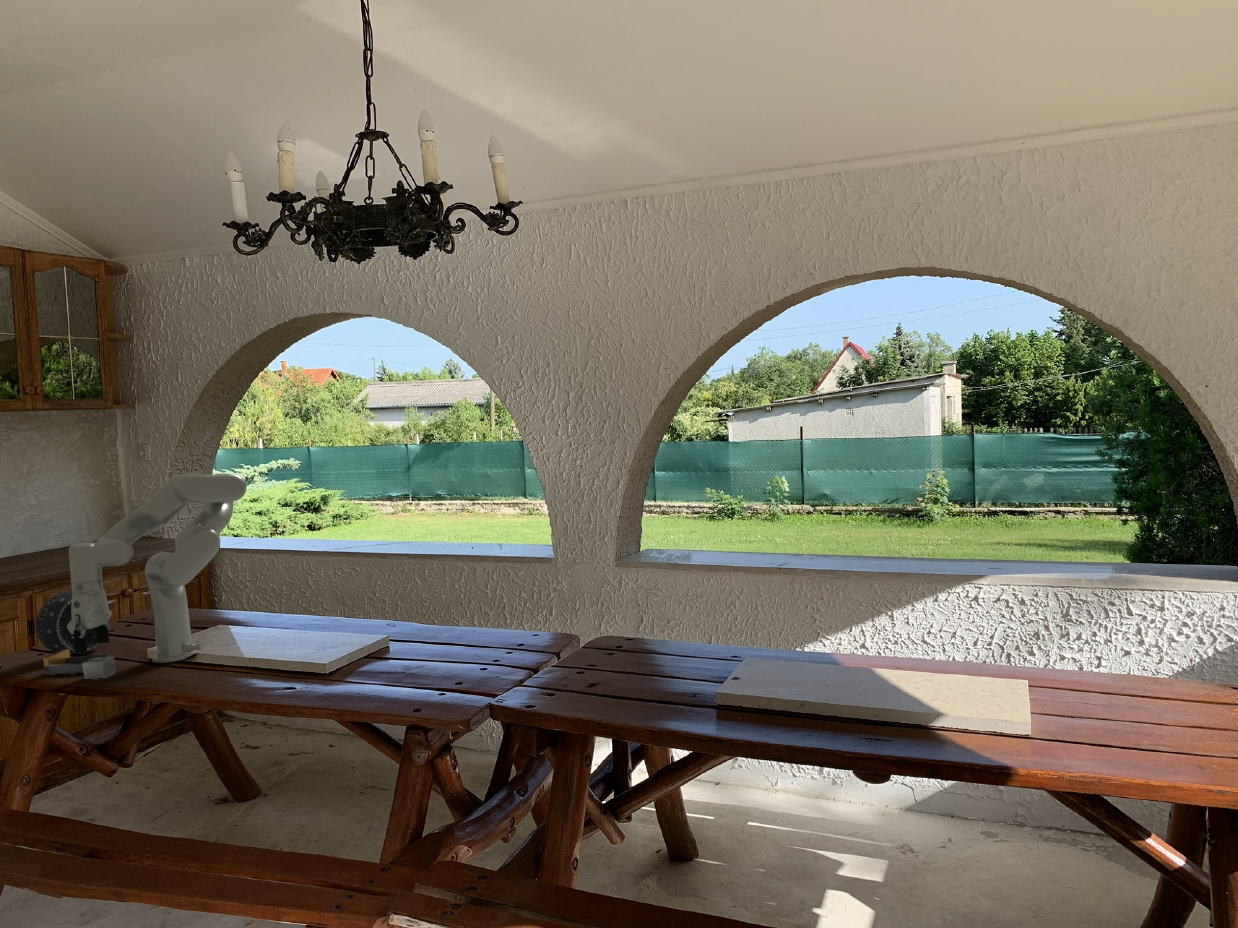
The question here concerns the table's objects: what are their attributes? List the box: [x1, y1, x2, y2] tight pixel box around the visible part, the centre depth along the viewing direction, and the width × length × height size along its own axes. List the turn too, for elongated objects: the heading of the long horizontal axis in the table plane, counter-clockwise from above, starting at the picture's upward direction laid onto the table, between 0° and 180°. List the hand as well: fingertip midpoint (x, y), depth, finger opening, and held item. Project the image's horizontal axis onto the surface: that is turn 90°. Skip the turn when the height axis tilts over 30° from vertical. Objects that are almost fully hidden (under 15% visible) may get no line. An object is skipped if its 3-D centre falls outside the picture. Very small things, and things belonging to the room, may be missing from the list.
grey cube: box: [82, 655, 117, 680], centre depth 253 cm, size 7×5×5 cm
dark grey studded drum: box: [35, 590, 112, 656], centre depth 281 cm, size 11×20×20 cm, turn 155°
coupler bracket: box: [42, 649, 112, 675], centre depth 262 cm, size 14×9×5 cm, turn 86°
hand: (92, 647), depth 252 cm, fingers open, 9 cm apart
